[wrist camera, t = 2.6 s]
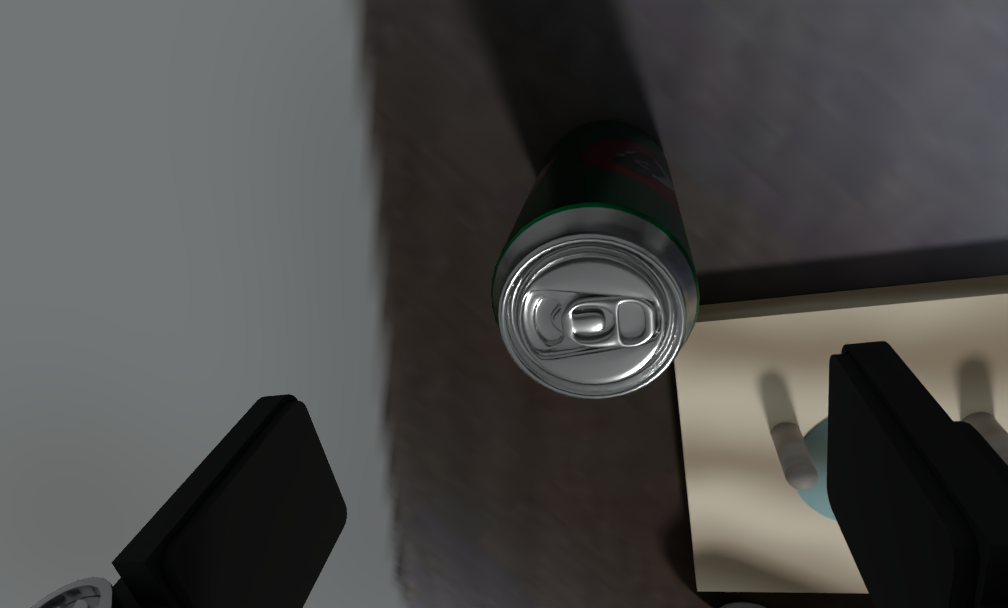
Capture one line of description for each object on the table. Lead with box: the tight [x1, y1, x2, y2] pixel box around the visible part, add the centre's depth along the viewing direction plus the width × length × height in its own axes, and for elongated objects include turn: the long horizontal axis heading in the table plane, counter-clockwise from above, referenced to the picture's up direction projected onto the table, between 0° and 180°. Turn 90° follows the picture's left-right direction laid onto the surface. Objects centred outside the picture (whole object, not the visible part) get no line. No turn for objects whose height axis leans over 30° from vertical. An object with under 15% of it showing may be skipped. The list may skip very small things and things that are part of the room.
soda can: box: [491, 120, 700, 400], centre depth 19 cm, size 5×5×12 cm
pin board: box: [674, 275, 1008, 593], centre depth 26 cm, size 16×16×5 cm
